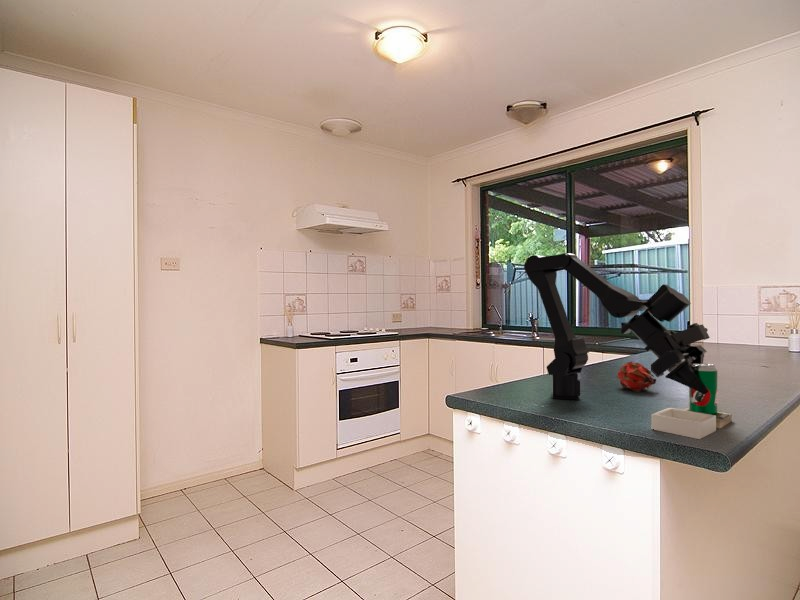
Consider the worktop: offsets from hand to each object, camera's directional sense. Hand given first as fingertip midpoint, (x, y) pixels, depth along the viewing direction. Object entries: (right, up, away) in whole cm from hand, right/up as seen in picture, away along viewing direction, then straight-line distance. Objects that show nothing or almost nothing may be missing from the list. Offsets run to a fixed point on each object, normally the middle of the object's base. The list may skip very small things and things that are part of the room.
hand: (710, 390), depth 98 cm
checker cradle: (-1, -7, +1) cm, 7 cm away
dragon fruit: (+2, -7, +34) cm, 34 cm away
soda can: (-1, -7, +1) cm, 7 cm away
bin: (-9, -7, -5) cm, 12 cm away
